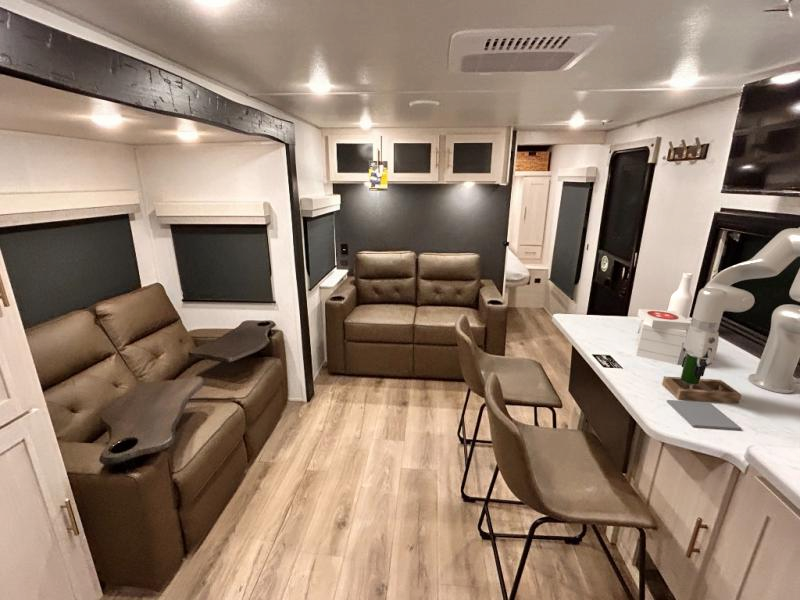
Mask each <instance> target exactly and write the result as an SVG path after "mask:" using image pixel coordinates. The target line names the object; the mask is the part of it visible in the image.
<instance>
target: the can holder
mask: <svg viewBox="0 0 800 600" xmlns="http://www.w3.org/2000/svg"><path fill="white" fill-rule="evenodd" d="M680 378H681V376H680V377H679V376H677V377H676V376H663V379H662V383H661V385H662V386H663V388H665V389H666V390H667V391H669V393H670V394H671V395H672V396H674V397H675V398H676V399H677V400H678V401H694V402H710V403H711V402H713V403H729V404H730V403H731V404H739V403H740V401H741V398H742V396H743V395H742V393H740V392H739V391H737V390H736V389H734V388H733V387H732V386H731V385H729V384H727V383H726V382H725V381H723V380H722V379H714V378H713V379H712V378H700V381H699V384H697V385H696V386H692V385H687V384H685V383H683V382H682V381H681V379H680Z"/></svg>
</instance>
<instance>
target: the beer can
mask: <svg viewBox="0 0 800 600" xmlns="http://www.w3.org/2000/svg"><path fill="white" fill-rule="evenodd" d="M703 357H704V356H703ZM703 361H704V359H701V362H703ZM695 365H697V357H696V356H695V355H693V353H692V352H690V351H688V352H687V355H686V359H685V363H684V367H682V371H681V375H680V377H681V378H680V379H681V381H682V382H683V383H685V384H687V385H692V386H696V385H697V384H699V381H700V379H701V377H702V376H693V371H694V367H695Z"/></svg>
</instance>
